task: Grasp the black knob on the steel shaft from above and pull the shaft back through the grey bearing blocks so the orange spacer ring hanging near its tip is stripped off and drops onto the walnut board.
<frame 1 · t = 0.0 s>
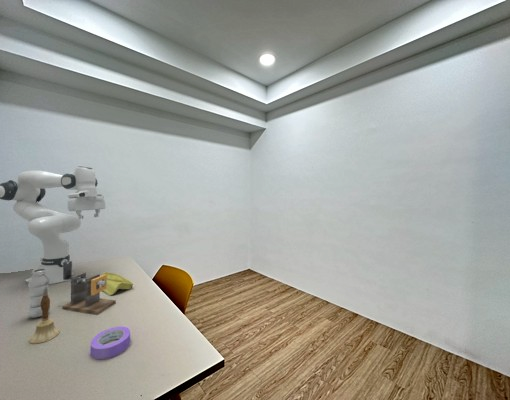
hand: (89, 218, 124), 39 cm above the table, tool pointing down, fingers open, 8 cm apart
shaft frame: (90, 306, 101), on the table
plastic component: (116, 288, 122), on the table
spacer: (99, 284, 100), point 11 cm above the table, touching shaft
hand bell: (44, 336, 80), on the table
shaft: (84, 273, 102), point 16 cm above the table, slide at 0.0 cm, touching spacer
plastic bottle: (39, 316, 93), on the table
masking tape: (111, 347, 76), on the table
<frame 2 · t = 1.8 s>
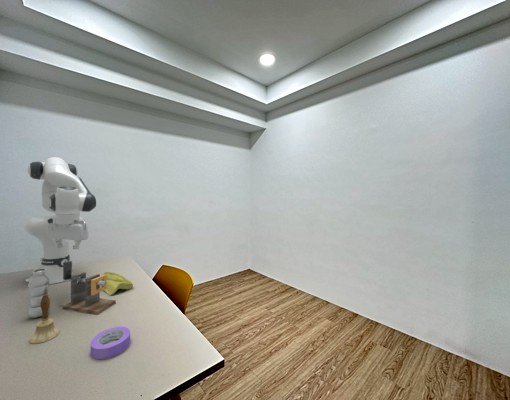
hand: (67, 248, 103), 27 cm above the table, tool pointing down, fingers open, 8 cm apart
nothing on the table moved.
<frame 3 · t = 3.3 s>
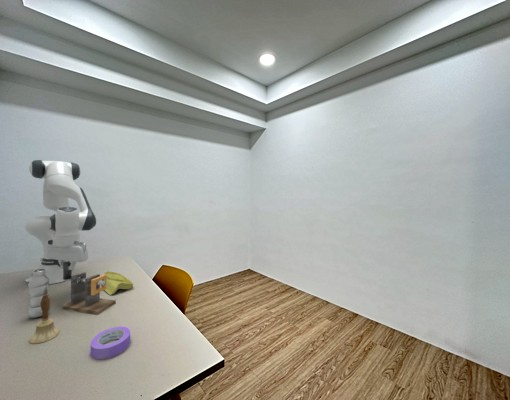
hand: (67, 269, 103), 17 cm above the table, tool pointing down, fingers closed on shaft, 3 cm apart
shaft: (84, 273, 102), point 16 cm above the table, slide at 0.0 cm, touching gripper, spacer
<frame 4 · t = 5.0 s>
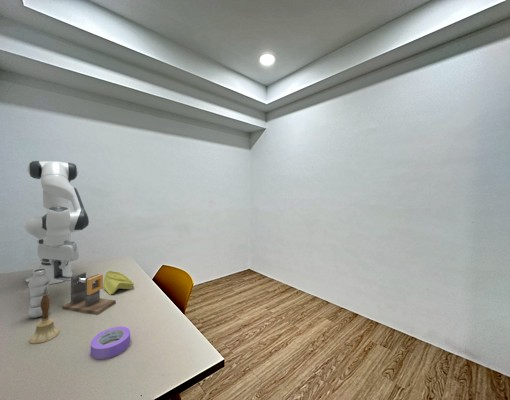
hand: (58, 268, 104), 16 cm above the table, tool pointing down, fingers closed on shaft, 3 cm apart
spacer: (95, 284, 101), point 11 cm above the table, touching shaft frame
shaft: (74, 272, 102), point 16 cm above the table, slide at 5.5 cm, touching gripper
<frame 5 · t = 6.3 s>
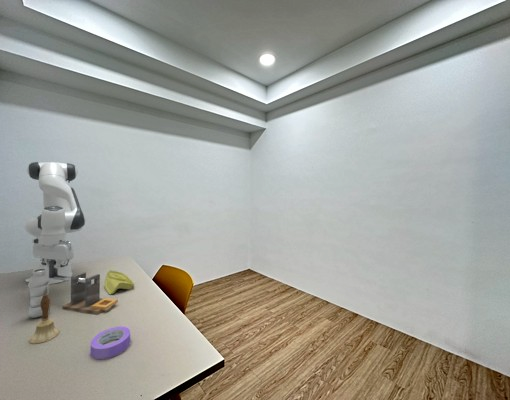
hand: (53, 267, 105), 17 cm above the table, tool pointing down, fingers closed on shaft, 3 cm apart
spacer: (105, 303, 100), point 2 cm above the table, tilted 90°, touching shaft frame
shaft: (69, 271, 103), point 16 cm above the table, slide at 8.5 cm, touching gripper
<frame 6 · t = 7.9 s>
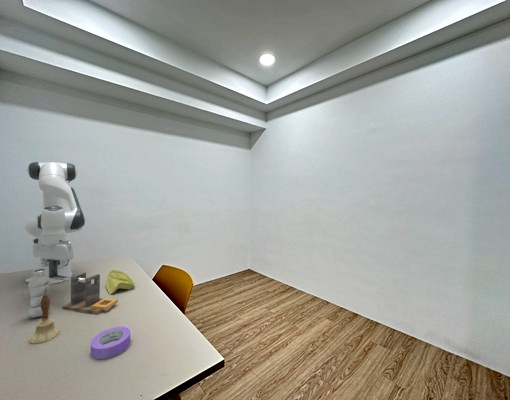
hand: (53, 267, 105), 17 cm above the table, tool pointing down, fingers open, 8 cm apart
shaft: (69, 271, 103), point 16 cm above the table, slide at 8.5 cm
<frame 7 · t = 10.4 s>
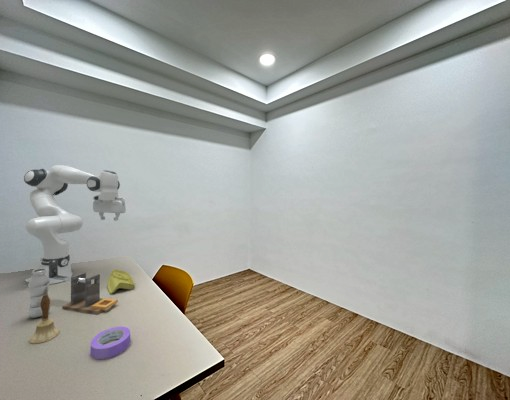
hand: (109, 220, 130), 37 cm above the table, tool pointing down, fingers open, 8 cm apart
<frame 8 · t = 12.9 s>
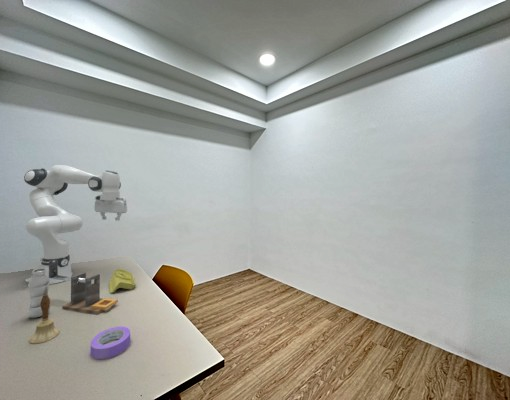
hand: (110, 220, 131), 37 cm above the table, tool pointing down, fingers open, 8 cm apart
at the end: spacer point 2.1 cm above the table; spacer touching shaft frame; shaft slide at 8.5 cm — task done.
